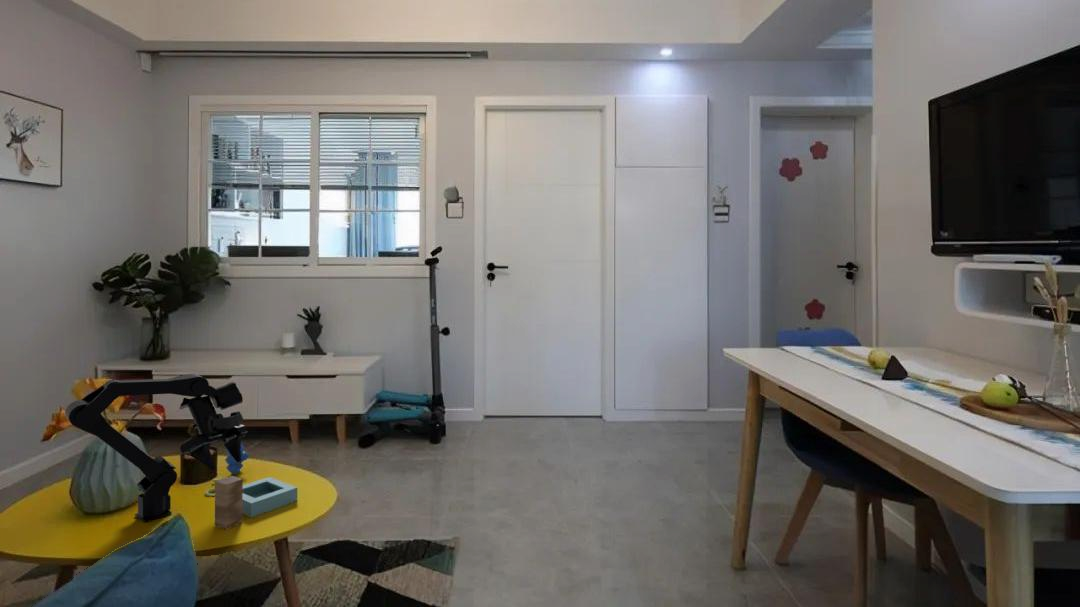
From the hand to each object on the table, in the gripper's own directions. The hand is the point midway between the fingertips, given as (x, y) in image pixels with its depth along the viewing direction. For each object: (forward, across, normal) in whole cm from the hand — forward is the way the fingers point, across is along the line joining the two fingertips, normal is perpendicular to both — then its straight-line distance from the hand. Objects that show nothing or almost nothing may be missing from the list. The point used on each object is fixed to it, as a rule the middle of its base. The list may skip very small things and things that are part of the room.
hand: (227, 465), depth 155 cm
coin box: (+13, +8, +2) cm, 15 cm away
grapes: (0, +24, +20) cm, 32 cm away
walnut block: (+15, -6, +1) cm, 16 cm away
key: (+3, +12, +18) cm, 22 cm away
